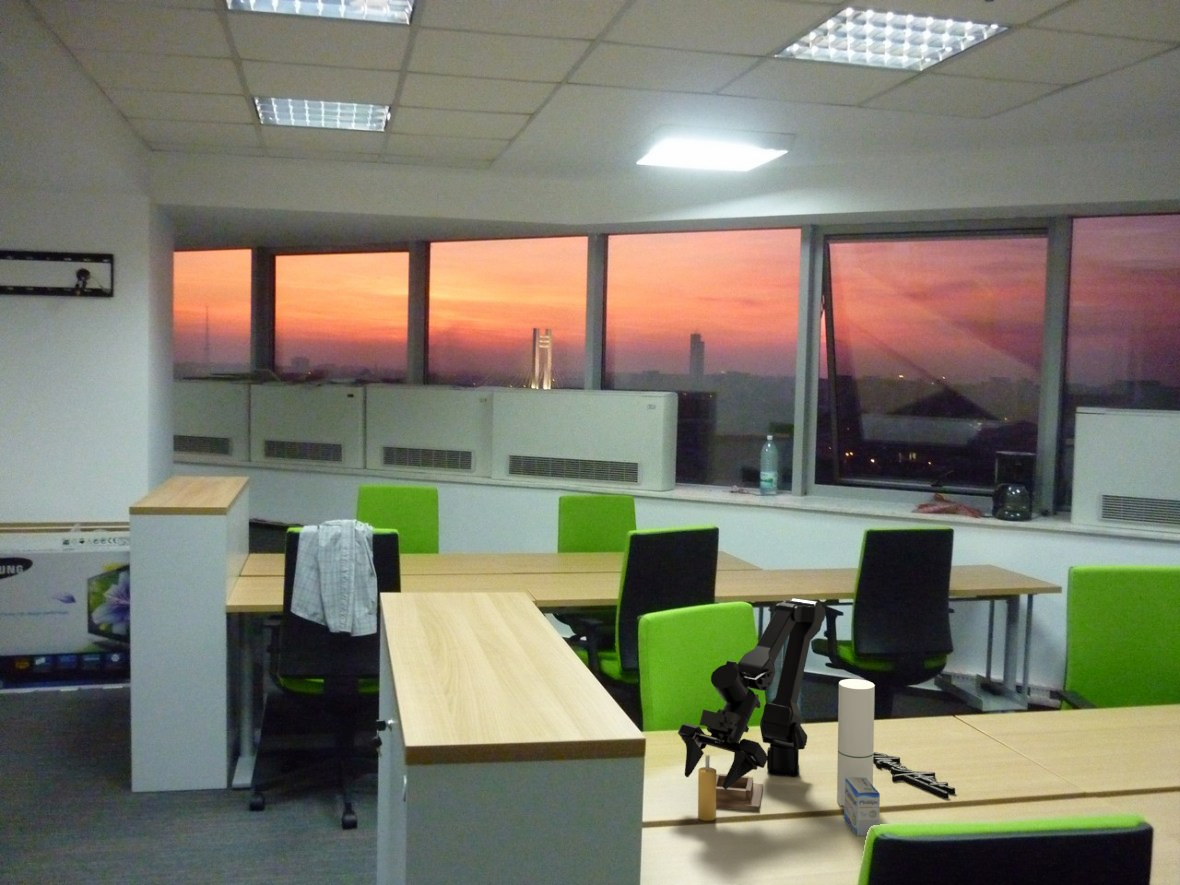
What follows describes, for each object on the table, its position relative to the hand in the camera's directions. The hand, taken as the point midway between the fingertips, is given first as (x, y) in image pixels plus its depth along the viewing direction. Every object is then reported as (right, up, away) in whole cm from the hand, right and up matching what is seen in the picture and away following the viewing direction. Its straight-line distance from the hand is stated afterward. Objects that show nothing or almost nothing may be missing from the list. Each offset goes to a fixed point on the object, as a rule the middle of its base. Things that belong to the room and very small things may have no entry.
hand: (704, 782), depth 207 cm
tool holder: (+7, -7, +11) cm, 15 cm away
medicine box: (+30, -8, -4) cm, 31 cm away
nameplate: (+47, -7, +23) cm, 53 cm away
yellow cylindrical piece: (+1, -7, +1) cm, 7 cm away
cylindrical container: (+32, -7, +8) cm, 34 cm away
